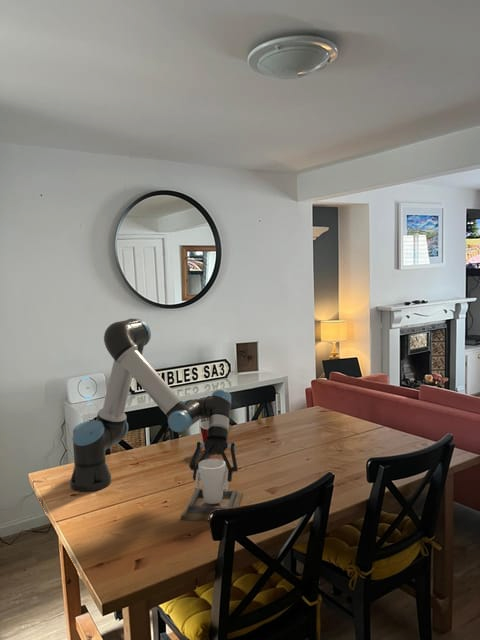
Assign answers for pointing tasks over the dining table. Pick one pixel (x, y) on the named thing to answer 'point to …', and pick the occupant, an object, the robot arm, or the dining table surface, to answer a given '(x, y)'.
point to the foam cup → (212, 479)
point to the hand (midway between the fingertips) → (210, 489)
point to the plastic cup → (204, 430)
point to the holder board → (209, 505)
